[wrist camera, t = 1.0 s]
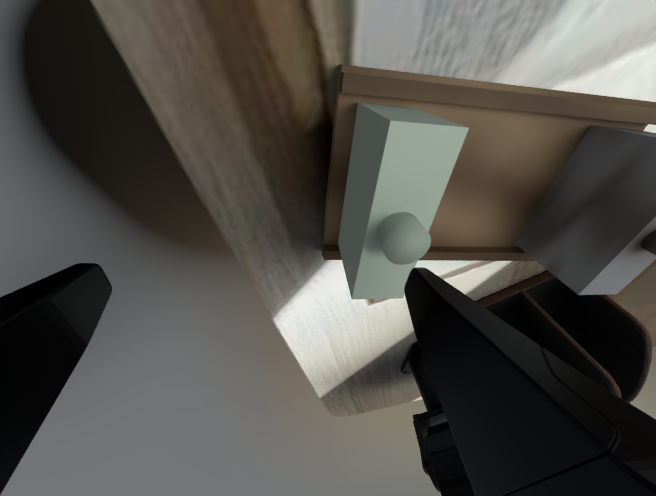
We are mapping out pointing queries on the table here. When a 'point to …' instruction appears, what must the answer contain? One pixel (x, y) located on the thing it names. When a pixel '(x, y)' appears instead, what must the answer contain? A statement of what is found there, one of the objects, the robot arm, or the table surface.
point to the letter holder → (579, 331)
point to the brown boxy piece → (522, 175)
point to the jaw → (393, 194)
